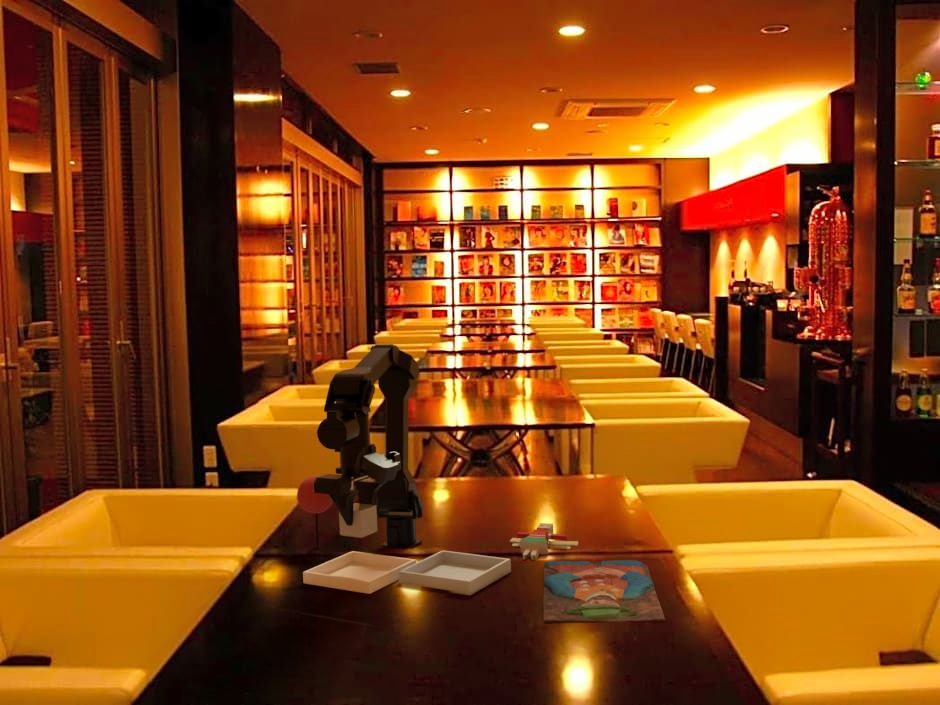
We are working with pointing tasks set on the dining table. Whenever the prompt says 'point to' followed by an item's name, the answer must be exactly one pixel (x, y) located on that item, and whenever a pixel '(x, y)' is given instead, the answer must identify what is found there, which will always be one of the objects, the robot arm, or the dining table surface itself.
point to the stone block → (360, 521)
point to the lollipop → (312, 501)
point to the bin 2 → (456, 572)
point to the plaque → (599, 592)
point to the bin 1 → (357, 572)
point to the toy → (540, 541)
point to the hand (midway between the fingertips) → (358, 522)
